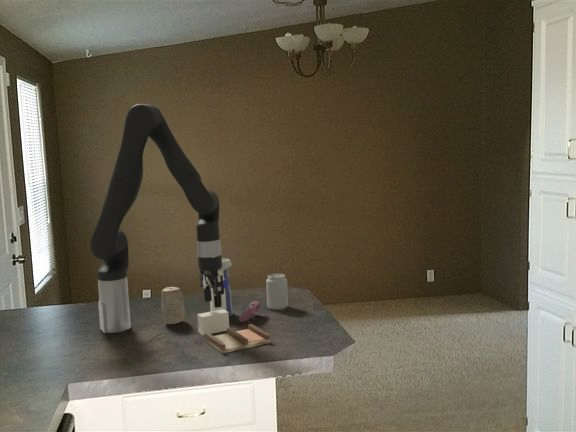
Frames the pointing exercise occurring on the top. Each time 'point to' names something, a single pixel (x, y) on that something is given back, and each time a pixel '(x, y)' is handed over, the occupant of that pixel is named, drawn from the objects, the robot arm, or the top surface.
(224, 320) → the plug block
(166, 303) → the carving
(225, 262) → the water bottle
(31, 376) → the top surface
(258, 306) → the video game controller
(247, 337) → the slot rack
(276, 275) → the can
